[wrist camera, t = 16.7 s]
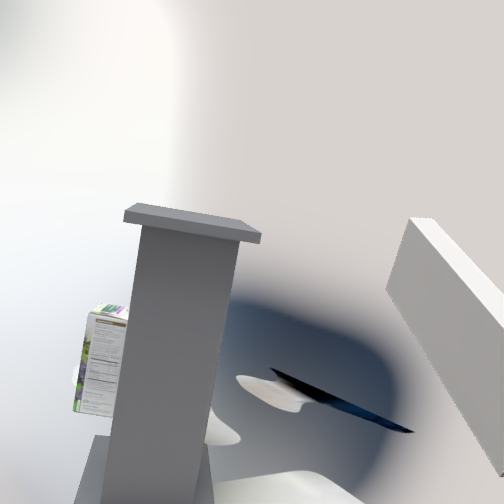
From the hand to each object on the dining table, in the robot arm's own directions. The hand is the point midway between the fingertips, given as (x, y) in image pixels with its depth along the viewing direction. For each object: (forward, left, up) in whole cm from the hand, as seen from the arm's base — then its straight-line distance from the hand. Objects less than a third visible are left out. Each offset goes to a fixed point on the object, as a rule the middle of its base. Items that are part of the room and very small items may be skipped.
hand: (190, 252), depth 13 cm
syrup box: (-41, +32, -32) cm, 61 cm away
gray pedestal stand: (-23, +25, -32) cm, 47 cm away
